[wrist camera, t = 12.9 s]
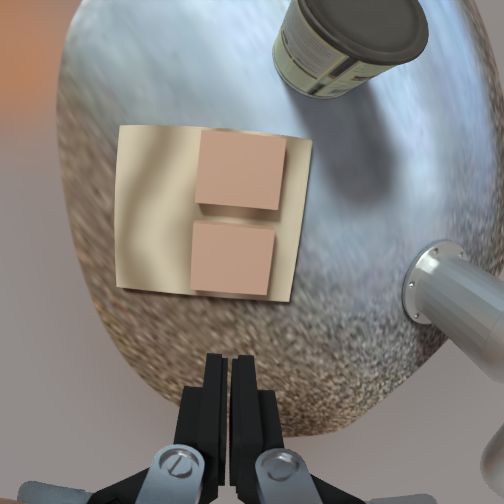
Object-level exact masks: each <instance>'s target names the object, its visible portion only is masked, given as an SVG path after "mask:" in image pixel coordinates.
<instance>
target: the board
mask: <svg viewBox="0 0 504 504" xmlns="http://www.w3.org/2000/svg"><path fill="white" fill-rule="evenodd" d="M202 130H210V131H223V132H234V133H244V134H254V135H262V136H270V137H278V138H285V139H286V147H285V155H284V164H283V172H282V180H281V189H280V197H279V205H278V210H271V209H261V208H251V207H241V206H230V205H218V204H206V203H195V193H196V181H197V170H198V159H199V149H200V140H201V131H202ZM311 147H312V140H310V139H304V138H298V137H291V136H284V135H277V134H270V133H262V132H253V131H244V130H234V129H222V128H209V127H192V126H163V125H127V126H120V132H119V142H118V153H117V167H116V185H115V262H116V280H117V287H123V288H131V289H140V290H149V291H158V292H168V293H178V294H188V295H199V296H211V297H223V298H237V299H251V300H267V301H285V302H289V298H290V293H291V287H292V281H293V275H294V269H295V263H296V256H297V250H298V244H299V237H300V230H301V224H302V217H303V210H304V203H305V195H306V188H307V180H308V172H309V164H310V156H311ZM195 220H202V221H215V222H226V223H238V224H249V225H260V226H270V227H273V228H274V229H275V236H274V244H273V251H272V259H271V266H270V273H269V281H268V288H267V295H256V294H242V293H228V292H216V291H204V290H192V289H190V281H191V256H192V237H193V223H194V221H195Z"/></svg>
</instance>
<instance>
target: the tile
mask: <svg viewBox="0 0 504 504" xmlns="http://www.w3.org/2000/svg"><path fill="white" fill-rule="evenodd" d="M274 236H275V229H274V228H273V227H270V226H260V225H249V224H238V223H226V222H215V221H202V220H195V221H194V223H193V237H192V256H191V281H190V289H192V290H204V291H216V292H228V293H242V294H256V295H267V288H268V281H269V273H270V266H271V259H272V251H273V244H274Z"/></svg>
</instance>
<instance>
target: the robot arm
mask: <svg viewBox="0 0 504 504" xmlns="http://www.w3.org/2000/svg"><path fill="white" fill-rule="evenodd" d="M402 300H403V306H404V308H405V311H406V313H407V314H408V315H409V317H411V318H412V319H413V320H414V321H415V322H417V323H420V324H431V323H433V324H434V325H436V326H437V327H438V328H439V329H440V330H441V331H442V332H443V333H444V334H445V335H446V336H447V337H448V338H449V339H451V340H452V341H453V342H454V343H455V344H456V345H457V346H458V347H459V348H460V349H461V350H462V351H463V352H464V353H465V354H466V355H467V356H468V357H469V358H470V359H471V360H472V361H473V362H474V363H475V364H476V365H477V366H478V367H479V368H480V369H481V370H482V371H483V372H484V373H485V374H486V375H487V376H488V377H490V378H491V379H492V380H494V381H496V382H499V383H504V281H502V280H500V279H498V278H497V277H495V276H493V275H491V274H490V273H488V272H486V271H484V270H482V269H481V268H479V267H477V266H475V265H473V264H471V263H470V262H469V261H468V257H467V255H466V253H465V251H464V249H463V248H462V247H461V246H460V245H458V244H457V243H454V242H452V241H448V240H441V241H437V242H435V243H432V244H431V245H429V246H428V247H426V248H425V249H424V250H423V251H422V252H421V253H420V254H419V255H418V256H417V257H416V259H415V260H414V262H413V263H412V265H411V266H410V268H409V271H408V273H407V275H406V278H405V281H404V285H403V291H402ZM227 373H228V358H222V354H214V353H207V358H206V366H205V374H204V383H203V388H202V387H190V386H184V389H183V393H182V399H181V404H180V409H179V415H178V420H177V426H176V432H175V438H174V443H173V445H169V446H167V447H164V448H162V449H161V450H160V451H158V452H157V454H156V455H155V457H154V459H153V462H152V464H151V466H150V467H149V468H147V469H145V470H143V471H141V472H139V473H137V474H135V475H133V476H131V477H129V478H126V479H124V480H122V481H120V482H118V483H116V484H113V485H111V486H109V487H106V488H104V489H102V490H99V491H97V492H95V493H89V492H86V491H85V490H81V489H74V488H68V487H62V486H56V485H51V484H46V483H41V482H37V481H28V482H25V483H23V484H22V485H21V486H20V488H19V491H18V497H17V501H16V500H12V499H6V498H0V504H209V503H210V502H212V501H213V500H215V499H216V498H218V486H224V485H225V464H226V440H227V439H226V438H227ZM229 470H230V472H229V473H230V486H236V493H237V494H238V499H239V500H241V501H242V502H244V503H245V504H437V502H436V500H435V499H434V498H433V497H432V496H431V495H428V494H415V495H408V496H400V497H391V498H378V499H372V500H371V501H362V500H361V499H359V498H357V497H355V496H352V495H350V494H348V493H346V492H344V491H342V490H340V489H338V488H336V487H334V486H332V485H330V484H328V483H326V482H324V481H323V480H321V479H319V478H317V477H315V476H313V475H312V474H310V473H309V471H308V469H307V466H306V464H305V462H304V460H303V459H302V457H301V456H300V455H298V454H297V453H296V452H293V451H291V450H289V449H285V448H284V443H283V437H282V431H281V425H280V419H279V414H278V408H277V402H276V396H275V392H274V390H257V382H256V372H255V363H254V356H253V355H238V359H232V375H231V391H230V408H229ZM480 470H481V474H482V476H483V479H484V481H485V482H486V484H487V485H488V486H489V487H490V488H491V489H492V490H493V491H494V492H495V493H496V494H498V495H499V496H501V497H502V498H504V423H503V425H502V426H501V427H500V428H499V430H498V431H497V432H496V434H495V435H494V436H493V437H492V439H491V440H490V441H489V443H488V444H487V446H486V448H485V449H484V451H483V454H482V457H481V461H480Z"/></svg>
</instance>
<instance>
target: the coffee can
mask: <svg viewBox="0 0 504 504" xmlns="http://www.w3.org/2000/svg"><path fill="white" fill-rule="evenodd" d="M428 32H429V30H428V23H427V20H426V16H425V14H424V11H423V9H422V7H421V5H420V3H419V2H418V0H291V3H290V5H289V8H288V10H287V13H286V16H285V18H284V21H283V23H282V26H281V28H280V31H279V34H278V36H277V38H276V40H275V42H274V45H273V51H272V56H273V61H274V65H275V68H276V70H277V72H278V73H279V75H280V76H281V78H282V79H283V80H284V81H285V82H286V83H287V84H288V85H289V86H290V87H292V88H293V89H294V90H296V91H298V92H299V93H301V94H303V95H306V96H309V97H312V98H318V99H330V98H336V97H339V96H341V95H343V94H345V93H347V92H348V91H350V90H351V89H353V88H355V87H357V86H358V85H360V84H362V83H364V82H366V81H368V80H370V79H371V78H373V77H375V76H377V75H379V74H381V73H383V72H385V71H387V70H389V69H391V68H393V67H395V66H397V65H401V64H404V63H407V62H410V61H412V60H414V59H416V58H417V57H418V56H419V55H420V54H421V53H422V52H423V51H424V49H425V47H426V45H427V42H428V36H429V33H428Z"/></svg>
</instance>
